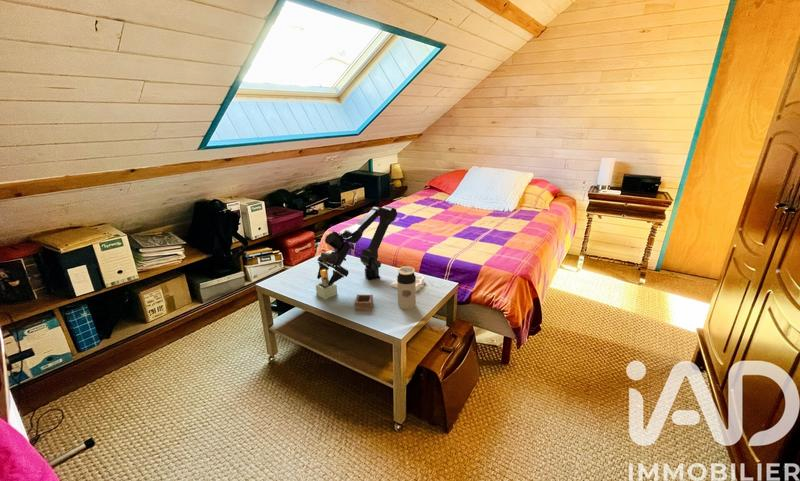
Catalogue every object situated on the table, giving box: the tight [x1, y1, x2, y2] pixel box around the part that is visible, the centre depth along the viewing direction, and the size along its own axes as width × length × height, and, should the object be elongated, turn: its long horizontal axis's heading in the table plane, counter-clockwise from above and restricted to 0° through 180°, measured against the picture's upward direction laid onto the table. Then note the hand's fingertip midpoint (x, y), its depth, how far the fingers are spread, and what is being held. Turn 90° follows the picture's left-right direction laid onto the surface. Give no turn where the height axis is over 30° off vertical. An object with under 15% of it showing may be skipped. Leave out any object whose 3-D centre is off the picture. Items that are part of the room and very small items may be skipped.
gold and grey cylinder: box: [320, 269, 330, 288], centre depth 170 cm, size 3×3×12 cm
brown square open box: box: [354, 294, 374, 312], centre depth 161 cm, size 7×7×5 cm
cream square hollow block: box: [315, 282, 338, 300], centre depth 172 cm, size 7×7×6 cm
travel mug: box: [396, 266, 417, 310], centre depth 159 cm, size 8×8×18 cm
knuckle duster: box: [389, 274, 425, 293], centre depth 179 cm, size 3×18×15 cm
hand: (323, 281), depth 169 cm, fingers open, 9 cm apart
